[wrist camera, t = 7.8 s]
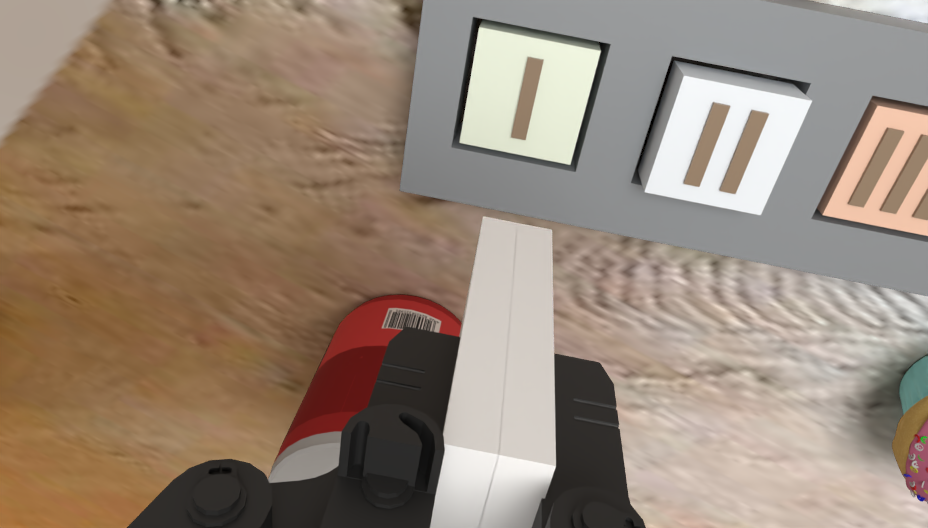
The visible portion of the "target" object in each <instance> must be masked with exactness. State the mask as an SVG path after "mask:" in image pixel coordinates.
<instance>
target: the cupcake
mask: <svg viewBox="0 0 928 528" xmlns="http://www.w3.org/2000/svg"><path fill="white" fill-rule="evenodd" d="M899 394H900V399H901V404H902V410H903V416H902V418H901V419H900V421H899V423H898V425H897V430H896V434H895V437H894V440H893V442H892V449H893V453H894V456H895V458H896V461H897V463H898V466H899V468H900V471H901V473H902V475H903V476H904V478H905V479H906V485H907V487H908V489H909V490H910V492H911V495H912V496H913V497H915V495H917V498H918V500H920V501H926V502H927V503H928V355H927V356H925V357H923V358H922V359H920V360H919V361H917V362H916V363H915V364H914V365H912V366H911V367H910V368H909V370H908V371H907V372H906V373H905V375H904V376H903V378H902V381H901V383H900V388H899Z"/></svg>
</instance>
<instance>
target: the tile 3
mask: <svg viewBox="0 0 928 528" xmlns="http://www.w3.org/2000/svg"><path fill="white" fill-rule="evenodd" d="M817 209H818V210H819V211H820V213H821V214H822V215H825V216H830V217H835V218H840V219H845V220H850V221H855V222H860V223H865V224H870V225H875V226H880V227H885V228H890V229H895V230H900V231H905V232H910V233H915V234H920V235H925V236H928V106H924V105H918V104H913V103H908V102H903V101H898V100H893V99H888V98H883V97H878V96H872V98H871V100H870V102H869V104H868V106H867V108H866V110H865V112H864V114H863V116H862V118H861V120H860V122H859V124H858V126H857V128H856V130H855V132H854V134H853V136H852V138H851V140H850V142H849V144H848V146H847V148H846V150H845V152H844V154H843V156H842V158H841V160H840V162H839V164H838V166H837V168H836V170H835V172H834V174H833V176H832V178H831V180H830V182H829V184H828V186H827V188H826V190H825V192H824V194H823V196H822V198H821V200H820V202H819V204H818V206H817Z"/></svg>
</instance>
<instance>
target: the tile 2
mask: <svg viewBox="0 0 928 528" xmlns="http://www.w3.org/2000/svg"><path fill="white" fill-rule="evenodd" d="M811 103H812V100H811V99H810V98H808V97H807V96H806V95H805V94H804V93H803V92H802V91H800V90H799V89H798V88H797V87H796V86H795V85H794V84H791V83H786V82H781V81H776V80H771V79H766V78H761V77H756V76H751V75H746V74H740V73H735V72H730V71H725V70H720V69H715V68H710V67H705V66H700V65H695V64H690V63H685V62H679V61H674V62H673V65H672V68H671V71H670V74H669V77H668V80H667V83H666V86H665V89H664V92H663V95H662V98H661V101H660V104H659V108H658V111H657V114H656V117H655V120H654V123H653V126H652V129H651V132H650V135H649V138H648V141H647V144H646V147H645V150H644V153H643V156H642V159H641V162H640V165H639V168H638V173H639V176H640V179H641V183H642V186H643V189H644V192H646V193H651V194H656V195H661V196H666V197H671V198H676V199H681V200H686V201H691V202H696V203H701V204H706V205H711V206H716V207H721V208H726V209H731V210H736V211H741V212H746V213H751V214H756V215H761V214H762V211H763V209H764V207H765V205H766V202H767V200H768V198H769V196H770V194H771V191H772V189H773V187H774V185H775V182H776V180H777V178H778V176H779V174H780V171H781V169H782V167H783V165H784V163H785V160H786V158H787V156H788V154H789V151H790V149H791V147H792V145H793V143H794V140H795V138H796V136H797V134H798V132H799V129H800V127H801V125H802V123H803V120H804V118H805V116H806V114H807V112H808V109H809V107H810V105H811Z"/></svg>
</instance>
